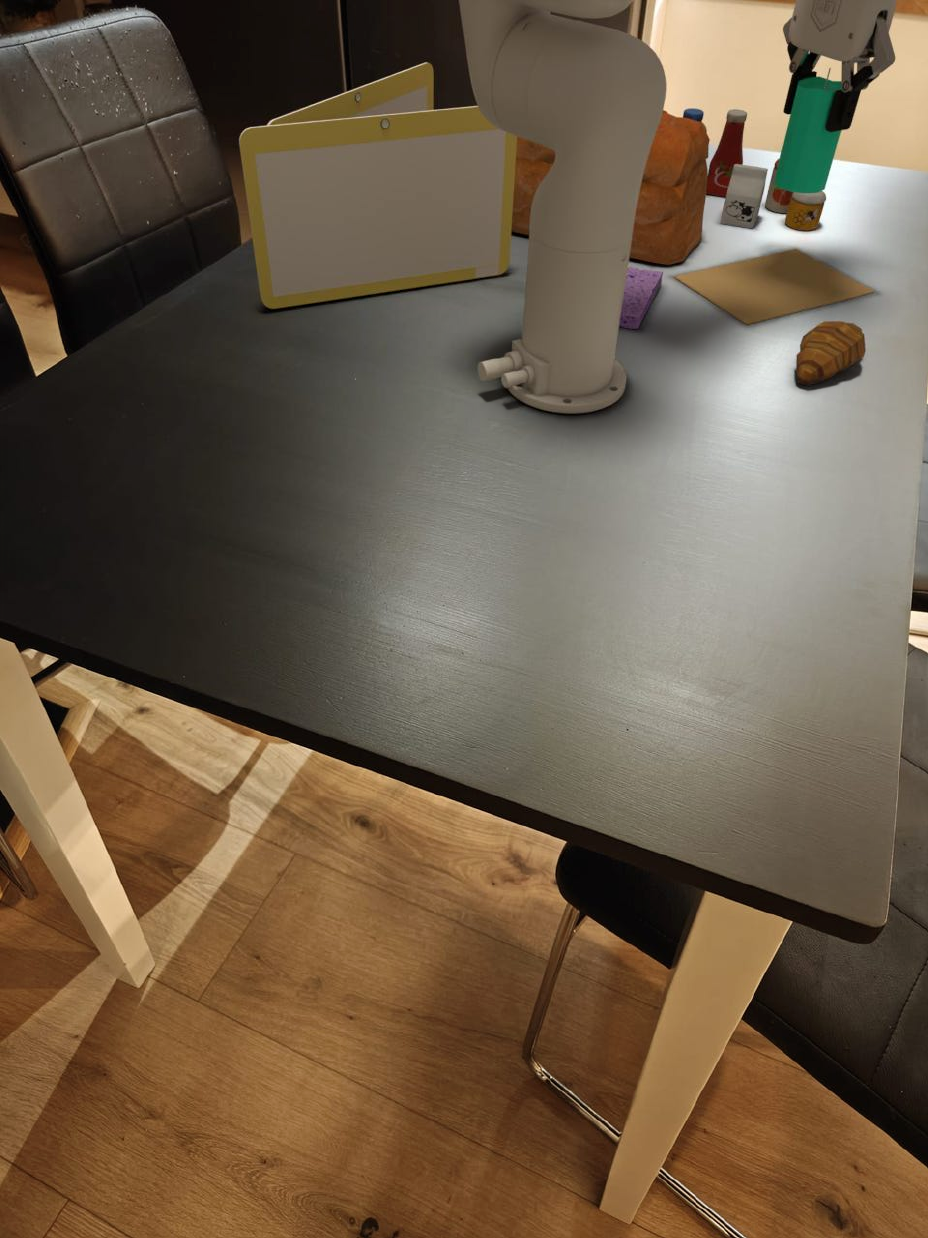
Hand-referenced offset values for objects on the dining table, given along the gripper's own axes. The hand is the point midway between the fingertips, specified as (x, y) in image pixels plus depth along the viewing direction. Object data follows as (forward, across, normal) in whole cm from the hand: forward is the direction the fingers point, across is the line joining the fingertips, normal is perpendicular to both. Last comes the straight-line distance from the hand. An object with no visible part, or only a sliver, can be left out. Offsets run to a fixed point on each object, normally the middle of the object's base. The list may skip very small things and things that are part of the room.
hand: (816, 119), depth 101 cm
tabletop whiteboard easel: (+18, -20, -42) cm, 50 cm away
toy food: (+18, -21, +9) cm, 29 cm away
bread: (+18, -21, -13) cm, 31 cm away
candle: (+7, 0, 0) cm, 7 cm away
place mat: (+18, +2, -2) cm, 18 cm away
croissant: (+18, +20, -10) cm, 29 cm away
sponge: (+18, -2, -22) cm, 29 cm away
